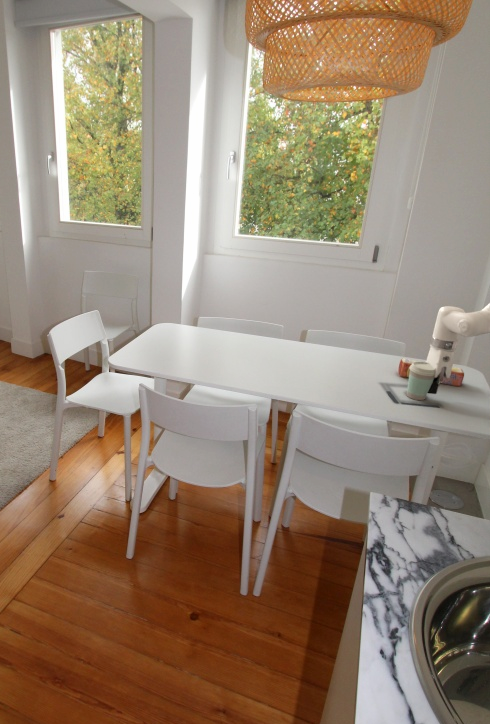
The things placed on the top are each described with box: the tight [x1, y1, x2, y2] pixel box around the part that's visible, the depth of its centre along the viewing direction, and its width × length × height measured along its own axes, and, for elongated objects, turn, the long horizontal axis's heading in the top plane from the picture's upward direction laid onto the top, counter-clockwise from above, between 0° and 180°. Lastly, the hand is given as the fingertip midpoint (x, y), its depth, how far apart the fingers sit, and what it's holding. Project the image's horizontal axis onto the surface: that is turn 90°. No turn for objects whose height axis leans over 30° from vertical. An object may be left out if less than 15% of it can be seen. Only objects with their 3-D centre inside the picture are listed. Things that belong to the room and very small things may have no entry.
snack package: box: [398, 357, 465, 387], centre depth 178 cm, size 21×7×7 cm, turn 67°
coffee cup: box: [406, 360, 435, 401], centre depth 163 cm, size 9×8×12 cm
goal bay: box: [386, 390, 441, 409], centre depth 166 cm, size 16×14×1 cm
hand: (430, 392), depth 165 cm, fingers closed
